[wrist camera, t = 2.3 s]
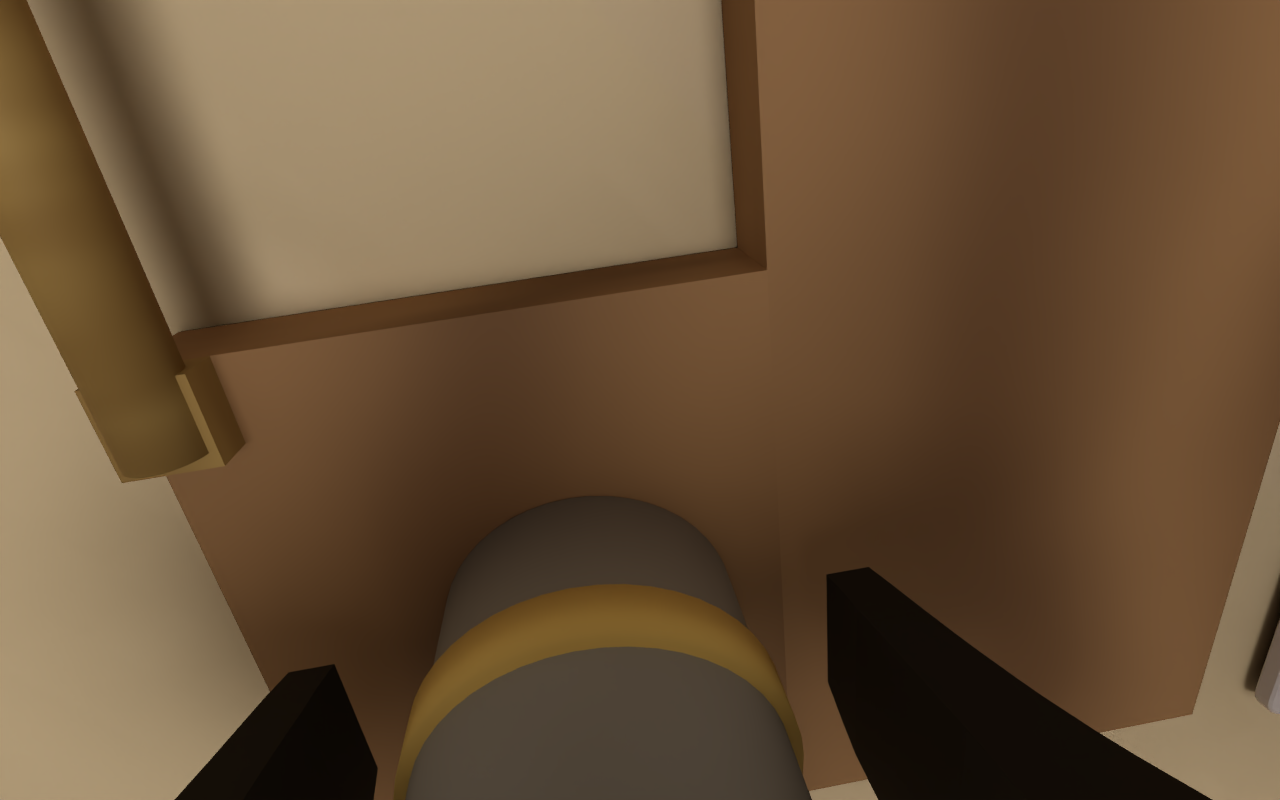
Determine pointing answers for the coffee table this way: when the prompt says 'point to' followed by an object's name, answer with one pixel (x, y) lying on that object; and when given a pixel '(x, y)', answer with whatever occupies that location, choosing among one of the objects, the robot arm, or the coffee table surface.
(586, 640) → the gold-banded grey cylinder
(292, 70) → the coffee table surface
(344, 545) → the shelf board
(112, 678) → the coffee table surface
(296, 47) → the coffee table surface
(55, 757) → the coffee table surface
